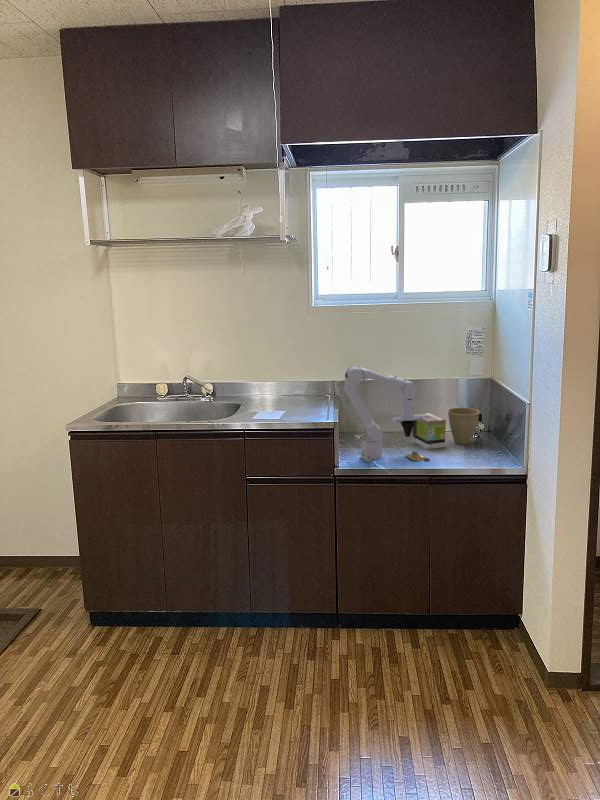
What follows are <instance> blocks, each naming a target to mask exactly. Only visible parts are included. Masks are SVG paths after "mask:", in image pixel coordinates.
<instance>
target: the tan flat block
mask: <svg viewBox="0 0 600 800" xmlns="http://www.w3.org/2000/svg"><path fill="white" fill-rule="evenodd" d="M404 456H406V457H407V458H409V459H411V460H412V461H417V462H418V461H419V462H420V461H421V462H423V461H424V458H426V457H425V456H423V455H422V454H420V453H418V452H417V453H415V454H414V455H413V454H412V453H404Z"/></svg>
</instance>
